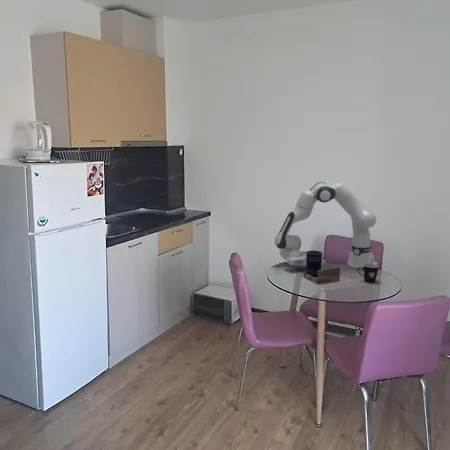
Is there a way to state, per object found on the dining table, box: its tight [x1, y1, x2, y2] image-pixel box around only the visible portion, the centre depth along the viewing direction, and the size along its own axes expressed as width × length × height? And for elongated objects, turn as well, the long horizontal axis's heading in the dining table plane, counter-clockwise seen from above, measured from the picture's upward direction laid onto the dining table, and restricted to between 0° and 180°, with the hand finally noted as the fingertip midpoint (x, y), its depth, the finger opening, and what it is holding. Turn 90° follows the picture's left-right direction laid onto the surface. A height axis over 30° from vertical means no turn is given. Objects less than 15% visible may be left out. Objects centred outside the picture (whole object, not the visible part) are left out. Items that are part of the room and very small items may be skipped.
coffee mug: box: [356, 264, 380, 284], centre depth 271 cm, size 12×9×10 cm
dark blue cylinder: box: [305, 250, 323, 278], centre depth 281 cm, size 10×10×15 cm
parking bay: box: [303, 266, 341, 285], centre depth 275 cm, size 14×16×8 cm
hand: (309, 262), depth 285 cm, fingers closed
